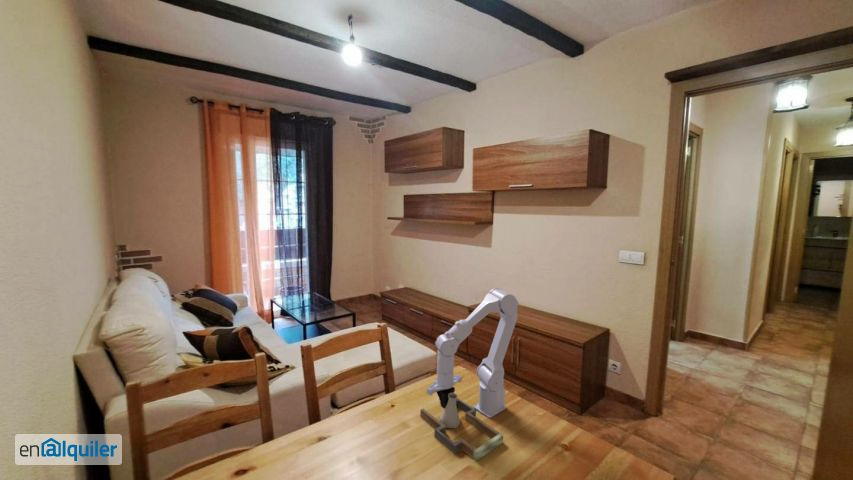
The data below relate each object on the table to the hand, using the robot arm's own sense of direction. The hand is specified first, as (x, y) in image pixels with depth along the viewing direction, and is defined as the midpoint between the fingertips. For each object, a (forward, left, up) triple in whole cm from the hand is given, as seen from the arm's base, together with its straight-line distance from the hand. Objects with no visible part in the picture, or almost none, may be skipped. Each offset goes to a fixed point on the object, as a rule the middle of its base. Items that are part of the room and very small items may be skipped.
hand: (444, 406), depth 119 cm
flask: (0, +3, -4) cm, 5 cm away
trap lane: (0, +8, -4) cm, 9 cm away
